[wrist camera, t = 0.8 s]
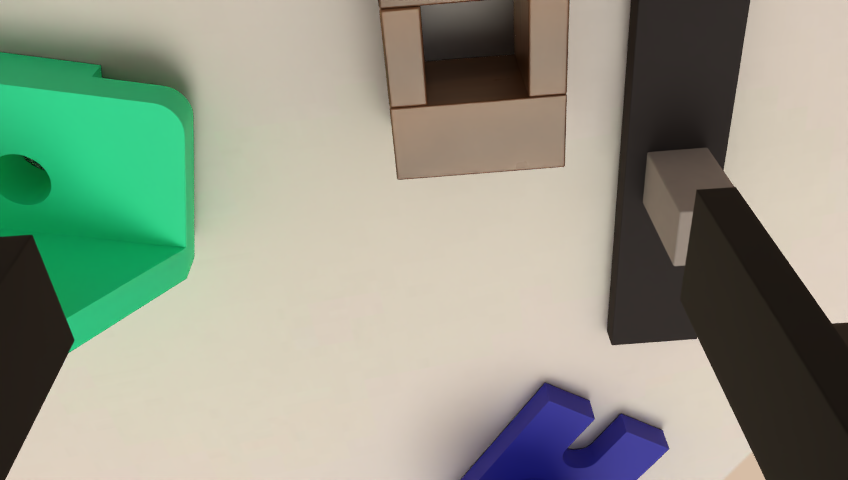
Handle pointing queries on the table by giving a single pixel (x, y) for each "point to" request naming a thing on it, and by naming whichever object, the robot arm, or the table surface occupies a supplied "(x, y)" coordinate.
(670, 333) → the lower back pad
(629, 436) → the mount
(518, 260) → the table surface
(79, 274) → the camera mount
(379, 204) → the table surface
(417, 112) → the brown wooden frame
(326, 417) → the table surface
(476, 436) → the table surface
